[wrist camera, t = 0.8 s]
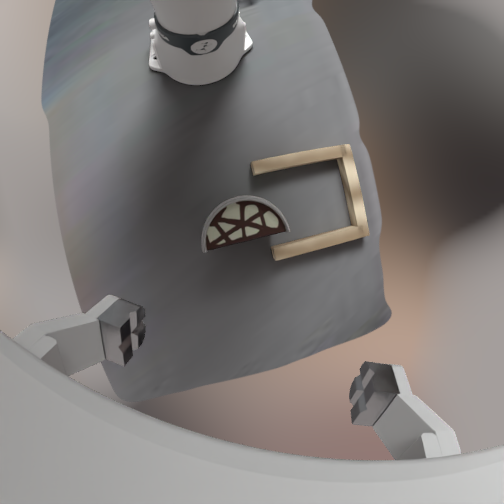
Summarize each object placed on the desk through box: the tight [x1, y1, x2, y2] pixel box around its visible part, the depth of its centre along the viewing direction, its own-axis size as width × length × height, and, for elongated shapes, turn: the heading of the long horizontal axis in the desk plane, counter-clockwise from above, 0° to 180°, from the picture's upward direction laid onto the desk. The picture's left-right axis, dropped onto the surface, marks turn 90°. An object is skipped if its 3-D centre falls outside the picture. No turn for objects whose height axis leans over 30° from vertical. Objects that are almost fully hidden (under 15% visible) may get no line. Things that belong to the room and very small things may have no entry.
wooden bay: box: [251, 144, 369, 261], centre depth 46 cm, size 16×17×2 cm
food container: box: [201, 195, 290, 253], centre depth 42 cm, size 12×6×10 cm, turn 103°
